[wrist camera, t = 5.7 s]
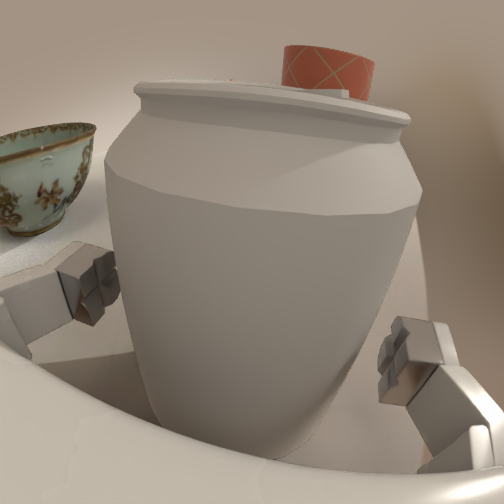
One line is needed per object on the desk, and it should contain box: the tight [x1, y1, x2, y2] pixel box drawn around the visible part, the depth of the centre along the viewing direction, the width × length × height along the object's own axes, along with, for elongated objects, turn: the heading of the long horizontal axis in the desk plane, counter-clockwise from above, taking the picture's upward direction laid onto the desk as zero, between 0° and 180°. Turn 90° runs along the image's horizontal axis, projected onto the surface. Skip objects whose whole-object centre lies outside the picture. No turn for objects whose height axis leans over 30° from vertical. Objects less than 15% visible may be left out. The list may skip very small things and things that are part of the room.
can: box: [104, 80, 422, 460], centre depth 9 cm, size 8×8×12 cm
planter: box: [281, 45, 375, 102], centre depth 59 cm, size 19×19×20 cm
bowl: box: [0, 123, 96, 237], centre depth 21 cm, size 14×14×8 cm
